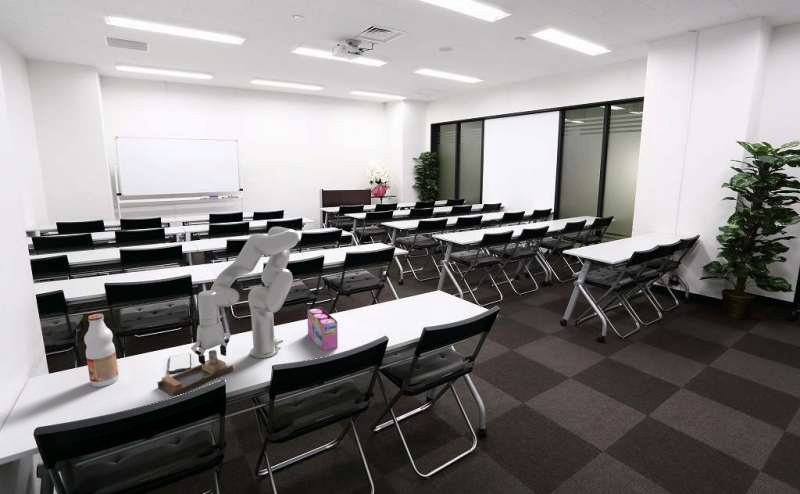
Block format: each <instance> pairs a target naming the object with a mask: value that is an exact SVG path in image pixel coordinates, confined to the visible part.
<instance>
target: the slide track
mask: <svg viewBox="0 0 800 494" xmlns="http://www.w3.org/2000/svg"><path fill="white" fill-rule="evenodd" d="M217 359H219V358H218V357H217ZM232 372H234V366H233V365H229V366H228V365H226V368H224V369H222V370H219V371H217V372H215V373H212V374H210V373H208V372H206V371H204V370H202V364H201V363H200V364H198V365H195V366H194V367H191V369H188V370H186V371H183V372H180V373H175V374H173V375H171V376H170V375H166V376H163V377H161V380H159V381H157V389H159V390H161V391H162V392H164V393H165V394H167V395H169V396H170V397H172V398H173V397H174V396H177V395H180V394H182V395H184V394H186V393H188V392H191V391H192V390H195V389H197V388H199V387H202V386H204V385H206V384H208V383H210V382H213V381H215V380H217V379H219V378H221V376H222V377H224V376H226V375H228V374H231V373H232ZM216 378H217V379H216ZM214 379H215V380H214ZM183 393H184V394H183ZM180 396H181V395H180ZM177 397H178V396H177Z"/></svg>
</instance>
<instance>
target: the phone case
mask: <svg viewBox="0 0 800 494" xmlns="http://www.w3.org/2000/svg"><path fill="white" fill-rule="evenodd" d="M167 367H168V368H167V370H168V372H167V373H168V375H176V374H179V373H181V372H183V371H186V370H188V369H191V368H192V355H191V353H184V354H183V353H182V354H179V355H173V356H169V358H168V365H167Z"/></svg>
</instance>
